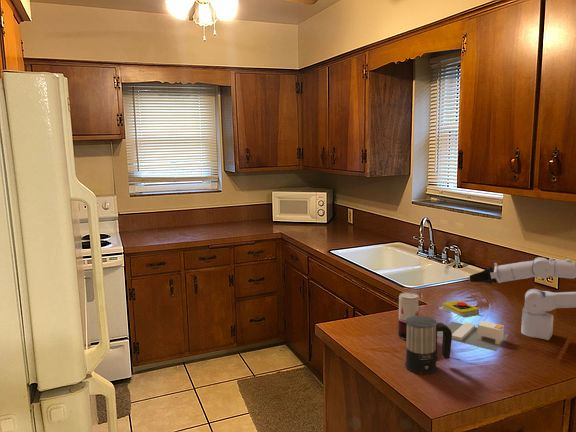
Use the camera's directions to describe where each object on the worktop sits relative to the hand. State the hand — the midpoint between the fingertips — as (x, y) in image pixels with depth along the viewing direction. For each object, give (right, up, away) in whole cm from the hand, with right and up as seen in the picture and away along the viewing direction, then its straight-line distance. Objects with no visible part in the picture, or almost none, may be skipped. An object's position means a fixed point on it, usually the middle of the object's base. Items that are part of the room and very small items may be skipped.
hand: (472, 278), depth 169 cm
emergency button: (+2, -16, +17) cm, 24 cm away
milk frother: (-25, -23, -23) cm, 41 cm away
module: (+2, -19, -11) cm, 22 cm away
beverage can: (-24, -20, -5) cm, 32 cm away
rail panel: (-3, -20, -7) cm, 21 cm away
